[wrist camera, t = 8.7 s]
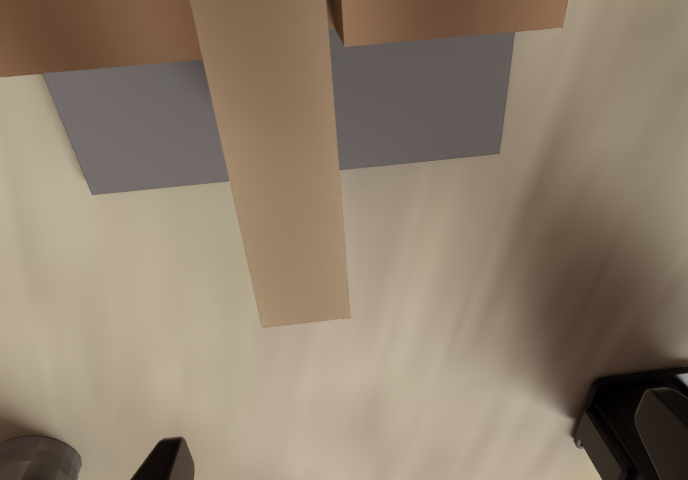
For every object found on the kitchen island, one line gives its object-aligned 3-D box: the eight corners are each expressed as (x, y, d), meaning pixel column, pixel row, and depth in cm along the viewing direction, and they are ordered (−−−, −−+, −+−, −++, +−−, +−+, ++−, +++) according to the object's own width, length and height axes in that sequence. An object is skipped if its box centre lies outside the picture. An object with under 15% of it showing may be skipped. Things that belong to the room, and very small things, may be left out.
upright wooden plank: (282, -294, 11) (269, -728, 4) (324, 159, 18) (350, 317, 11) (200, -290, 11) (29, -728, 4) (273, 164, 18) (261, 328, 10)
